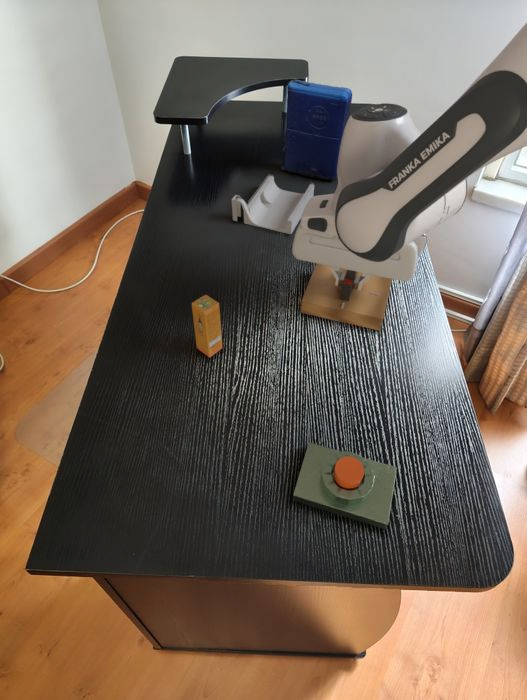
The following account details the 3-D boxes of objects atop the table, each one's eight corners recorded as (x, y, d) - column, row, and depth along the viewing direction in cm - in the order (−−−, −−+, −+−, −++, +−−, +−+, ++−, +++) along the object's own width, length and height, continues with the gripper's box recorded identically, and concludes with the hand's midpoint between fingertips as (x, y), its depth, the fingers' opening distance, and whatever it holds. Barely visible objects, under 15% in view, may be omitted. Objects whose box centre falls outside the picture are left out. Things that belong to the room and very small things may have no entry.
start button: (364, 467, 61) (366, 461, 60) (359, 492, 59) (361, 486, 58) (336, 459, 62) (338, 453, 61) (330, 484, 60) (332, 478, 58)
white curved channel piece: (291, 234, 99) (292, 213, 95) (232, 220, 102) (231, 199, 98) (313, 197, 108) (315, 176, 104) (259, 186, 111) (259, 165, 107)
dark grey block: (347, 275, 86) (350, 259, 83) (356, 277, 86) (359, 261, 83) (339, 299, 82) (342, 282, 79) (348, 301, 82) (352, 284, 79)
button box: (394, 472, 64) (400, 460, 62) (385, 529, 59) (391, 518, 57) (308, 448, 67) (309, 435, 64) (292, 500, 62) (293, 489, 59)
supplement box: (224, 347, 79) (220, 303, 71) (209, 358, 77) (203, 315, 70) (211, 336, 80) (205, 292, 73) (195, 348, 79) (188, 304, 71)
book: (279, 173, 115) (281, 84, 100) (286, 163, 118) (290, 75, 103) (336, 185, 111) (348, 94, 96) (342, 174, 115) (355, 85, 99)
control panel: (389, 289, 88) (392, 276, 86) (379, 330, 81) (383, 317, 79) (315, 274, 91) (317, 260, 88) (300, 312, 84) (301, 299, 82)
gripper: (432, 218, 72) (411, 287, 83) (302, 195, 77) (297, 263, 87) (427, 242, 68) (406, 311, 79) (291, 216, 73) (287, 285, 83)
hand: (348, 285), depth 83 cm, fingers closed on dark grey block, 2 cm apart
